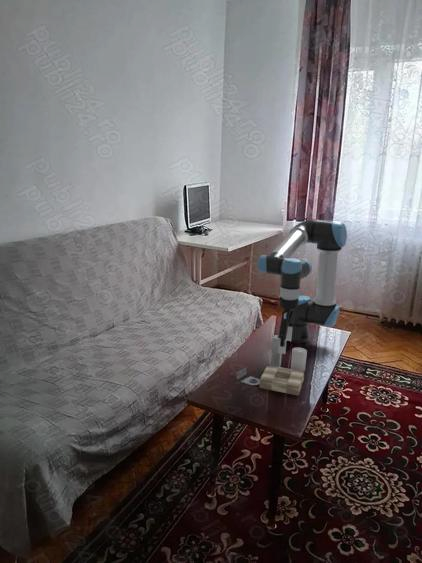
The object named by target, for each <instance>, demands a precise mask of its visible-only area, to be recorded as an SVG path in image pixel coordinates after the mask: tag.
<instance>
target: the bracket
mask: <svg viewBox="0 0 422 563" xmlns="http://www.w3.org/2000/svg"><path fill="white" fill-rule="evenodd" d="M246 375H247V368H246V367H245V368H244V369H242V370H239V371H237V372H236V380H239V379H241V378H243V377H245V376H246ZM240 382H241V383H244V384H246V385H250V386H260V378H256V377H254V376H251V375H250V376H248V377H245V378H244V379H242V380H240Z"/></svg>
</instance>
